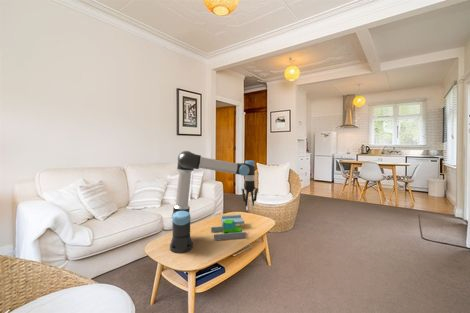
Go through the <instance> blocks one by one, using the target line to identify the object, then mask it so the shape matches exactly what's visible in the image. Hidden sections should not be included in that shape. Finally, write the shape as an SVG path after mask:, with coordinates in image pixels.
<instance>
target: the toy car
mask: <svg viewBox="0 0 470 313" xmlns="http://www.w3.org/2000/svg"><path fill="white" fill-rule="evenodd" d="M236 225H237V224H235V223H234V220H225V222H224V232H223V234H224V233H237V232H243V228H242V226H241V227H238V226H236Z"/></svg>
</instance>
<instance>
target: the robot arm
mask: <svg viewBox="0 0 470 313" xmlns="http://www.w3.org/2000/svg"><path fill="white" fill-rule="evenodd" d="M176 167H177V168H176V169H177V171H178V180H177V189H176V200H175V205H173V209H172V215H171V219H172V226H171V227H172V228H171V230H172V238H171V241H170V244H169V251H171V252H173V253H177V254H178V253H186V252H190V251H191V250H192V249H193V247H194V242H193V239H192V237H191V220H192V218H191V213H190V208H191V206H189V198H190V187H191V178H192V173H193V171H194V170H200V169H204V170H210V171H214V172H221V173H228V174H234V175H240V176H243V177H244V187H243V188H241V193H242V201H243V202H244V205H245V207H246V211H249V201H248V199H249V193H250V198H251V201H250V211H253V210H254V209H253V206H255V202H256V201H257V197H258V191H259V188H257V187H256V185H255V184H256V183H255V179H256V178H255V176H256V175H255V172H256V162H255V161H254V160H250V159H249V160H245V161H244V163H243V162H242V163H241V162H240V163H239V162H237V163H235V162H232V161H231V162H230V161H226V160H220V159H213V158H209V157H203V156H202V155H201V154H196V153H193V152H191V151H188V150H184V151H181V152H180V153H179V154H178V155H177V166H176ZM245 191H246V193H245Z"/></svg>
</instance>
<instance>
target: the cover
mask: <svg viewBox="0 0 470 313" xmlns="http://www.w3.org/2000/svg"><path fill="white" fill-rule="evenodd" d="M225 220H234V223H235V225H242V224H245V220H244V219H243V218H242V215H241V214H232V215H231V214H229V215H226V214H225V215H221V217H220V222H221V226H224V222H225Z"/></svg>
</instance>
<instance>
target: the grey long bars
mask: <svg viewBox="0 0 470 313" xmlns="http://www.w3.org/2000/svg"><path fill="white" fill-rule="evenodd" d="M235 225H236V226H238V227H242V226H241V225H242V224H235ZM210 229H211V230H210V233H213V241H221V240H224V241H225V240H236V239H245V238H247V232H246V231H242V232H237V233H224V226H222V225H221V226H211V227H210ZM222 232H223V233H222ZM215 233H216V234H215Z"/></svg>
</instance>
